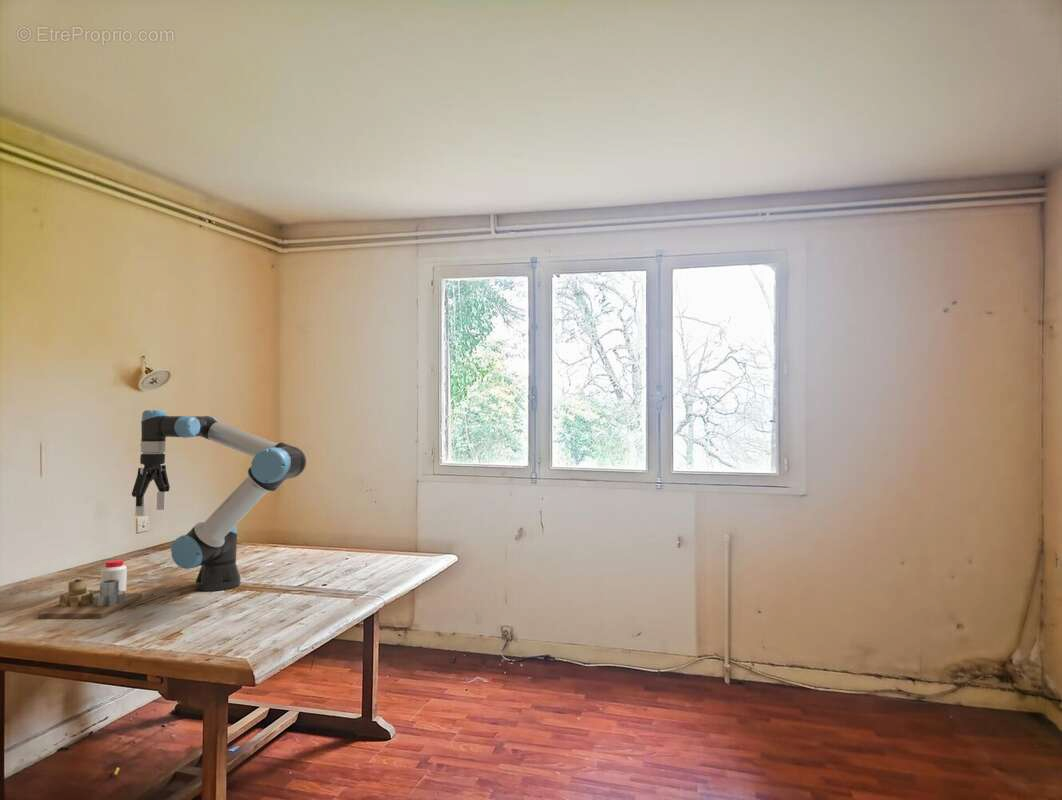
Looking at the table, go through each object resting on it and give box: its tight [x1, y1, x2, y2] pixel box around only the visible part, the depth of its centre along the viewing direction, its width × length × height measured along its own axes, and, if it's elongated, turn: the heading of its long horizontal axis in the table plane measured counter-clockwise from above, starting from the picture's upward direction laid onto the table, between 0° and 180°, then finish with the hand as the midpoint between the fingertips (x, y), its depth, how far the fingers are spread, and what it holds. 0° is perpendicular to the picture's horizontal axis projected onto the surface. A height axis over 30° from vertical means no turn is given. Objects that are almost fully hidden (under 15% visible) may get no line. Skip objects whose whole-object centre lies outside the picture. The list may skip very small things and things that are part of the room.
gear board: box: [37, 578, 143, 619], centre depth 202 cm, size 19×22×9 cm
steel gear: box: [92, 579, 126, 607], centre depth 203 cm, size 9×9×7 cm
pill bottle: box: [100, 558, 128, 592], centre depth 220 cm, size 8×8×11 cm
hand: (150, 512), depth 219 cm, fingers open, 13 cm apart
